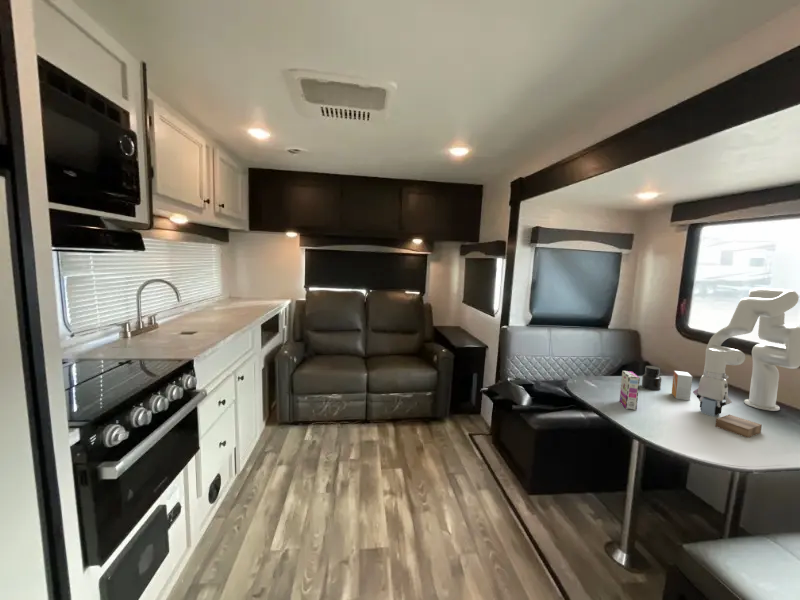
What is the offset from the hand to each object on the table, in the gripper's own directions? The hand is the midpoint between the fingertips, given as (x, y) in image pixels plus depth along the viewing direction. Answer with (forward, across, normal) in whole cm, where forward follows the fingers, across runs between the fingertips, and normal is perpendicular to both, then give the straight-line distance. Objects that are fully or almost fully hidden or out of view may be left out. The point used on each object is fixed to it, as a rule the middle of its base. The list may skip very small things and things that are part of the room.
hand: (710, 411), depth 172 cm
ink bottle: (+1, +33, -11) cm, 35 cm away
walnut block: (+1, -14, +9) cm, 17 cm away
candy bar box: (+1, +22, +27) cm, 35 cm away
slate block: (+1, 0, 0) cm, 1 cm away
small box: (+1, +18, -11) cm, 21 cm away
